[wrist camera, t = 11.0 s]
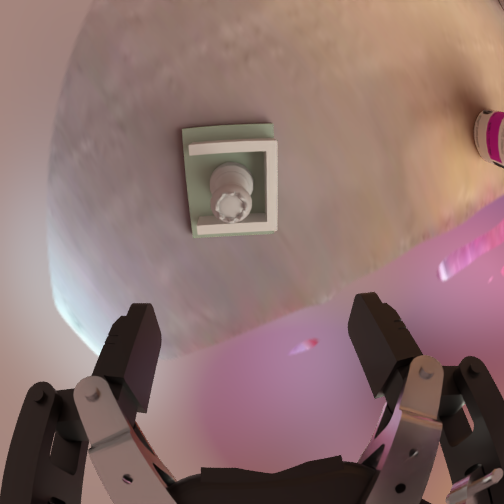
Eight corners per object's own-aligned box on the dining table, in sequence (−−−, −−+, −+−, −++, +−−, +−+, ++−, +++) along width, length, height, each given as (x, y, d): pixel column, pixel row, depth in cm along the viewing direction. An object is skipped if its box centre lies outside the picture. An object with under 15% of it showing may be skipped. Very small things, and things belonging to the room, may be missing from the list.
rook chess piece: (257, 165, 26) (267, 185, 19) (248, 206, 28) (253, 239, 21) (214, 157, 26) (206, 174, 19) (206, 198, 28) (197, 230, 21)
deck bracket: (183, 128, 25) (176, 130, 22) (272, 123, 25) (277, 124, 22) (194, 234, 31) (189, 248, 28) (272, 230, 31) (277, 243, 28)
